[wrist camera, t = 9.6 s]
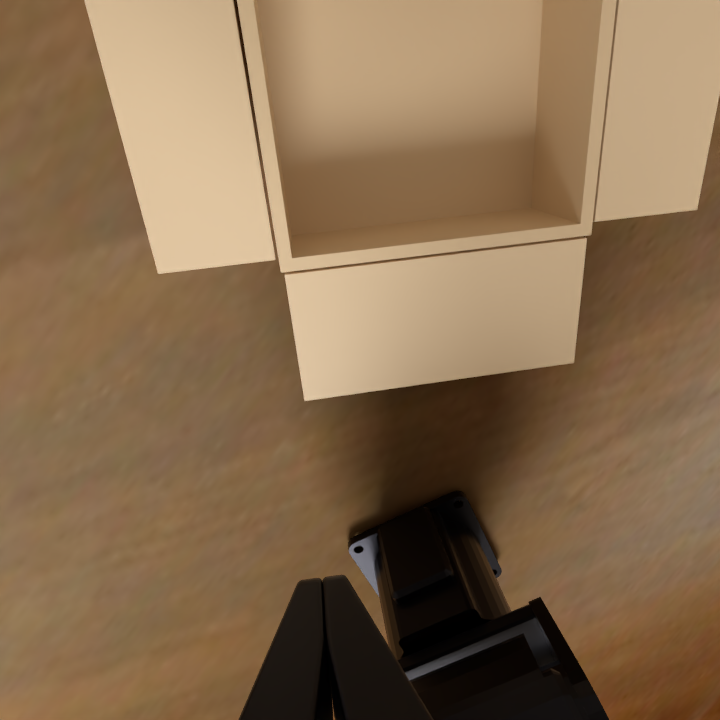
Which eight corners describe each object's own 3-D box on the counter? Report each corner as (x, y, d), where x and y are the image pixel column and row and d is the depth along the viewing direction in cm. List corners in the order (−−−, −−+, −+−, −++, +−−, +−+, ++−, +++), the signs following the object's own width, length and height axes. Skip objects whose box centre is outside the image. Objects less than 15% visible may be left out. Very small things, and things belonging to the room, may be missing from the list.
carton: (608, 313, 22) (670, 349, 18) (212, 367, 21) (196, 417, 17) (677, -212, 15) (801, -321, 11) (80, -182, 13) (3, -296, 10)
